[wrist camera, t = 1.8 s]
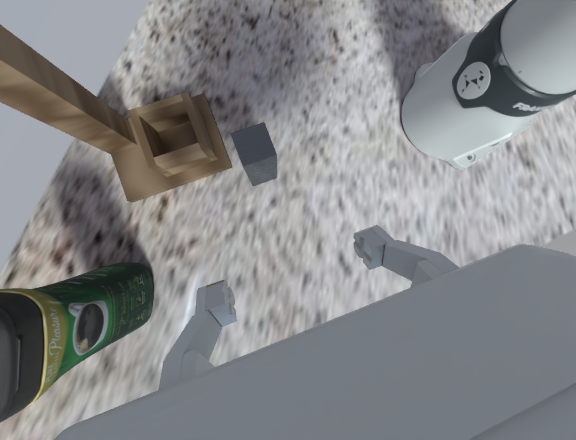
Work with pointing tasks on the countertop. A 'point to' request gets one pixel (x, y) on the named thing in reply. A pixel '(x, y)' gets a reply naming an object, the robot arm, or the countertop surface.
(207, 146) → the wooden peg slot stand
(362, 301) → the countertop surface
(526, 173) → the countertop surface
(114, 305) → the coffee jar
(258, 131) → the dark grey square peg
